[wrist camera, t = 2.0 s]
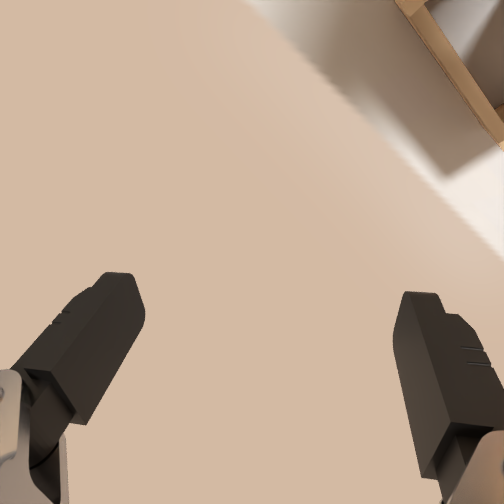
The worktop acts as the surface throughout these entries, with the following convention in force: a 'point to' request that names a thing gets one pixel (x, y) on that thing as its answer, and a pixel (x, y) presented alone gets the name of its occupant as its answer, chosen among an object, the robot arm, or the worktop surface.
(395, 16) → the worktop surface
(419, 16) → the caddy
